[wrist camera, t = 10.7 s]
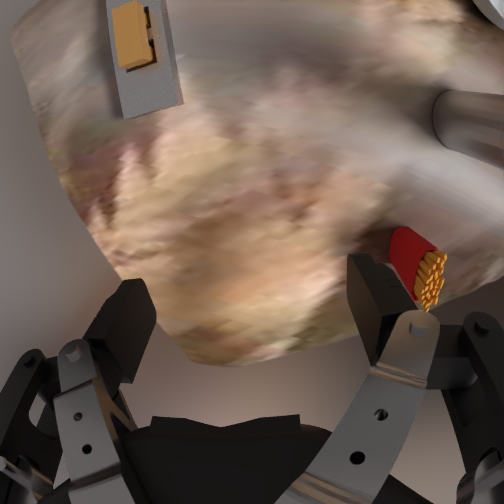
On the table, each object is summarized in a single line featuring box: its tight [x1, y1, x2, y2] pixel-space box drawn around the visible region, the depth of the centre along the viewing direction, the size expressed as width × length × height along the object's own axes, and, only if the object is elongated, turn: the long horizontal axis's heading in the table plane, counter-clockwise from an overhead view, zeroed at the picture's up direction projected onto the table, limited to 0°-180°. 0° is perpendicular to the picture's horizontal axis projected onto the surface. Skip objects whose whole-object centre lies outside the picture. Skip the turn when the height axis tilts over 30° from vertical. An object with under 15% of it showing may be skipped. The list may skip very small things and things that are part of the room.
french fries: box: [389, 227, 447, 312], centre depth 35 cm, size 8×4×12 cm, turn 5°
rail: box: [106, 0, 184, 120], centre depth 26 cm, size 7×20×3 cm, turn 9°
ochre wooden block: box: [112, 0, 157, 69], centre depth 24 cm, size 3×8×6 cm, turn 9°
